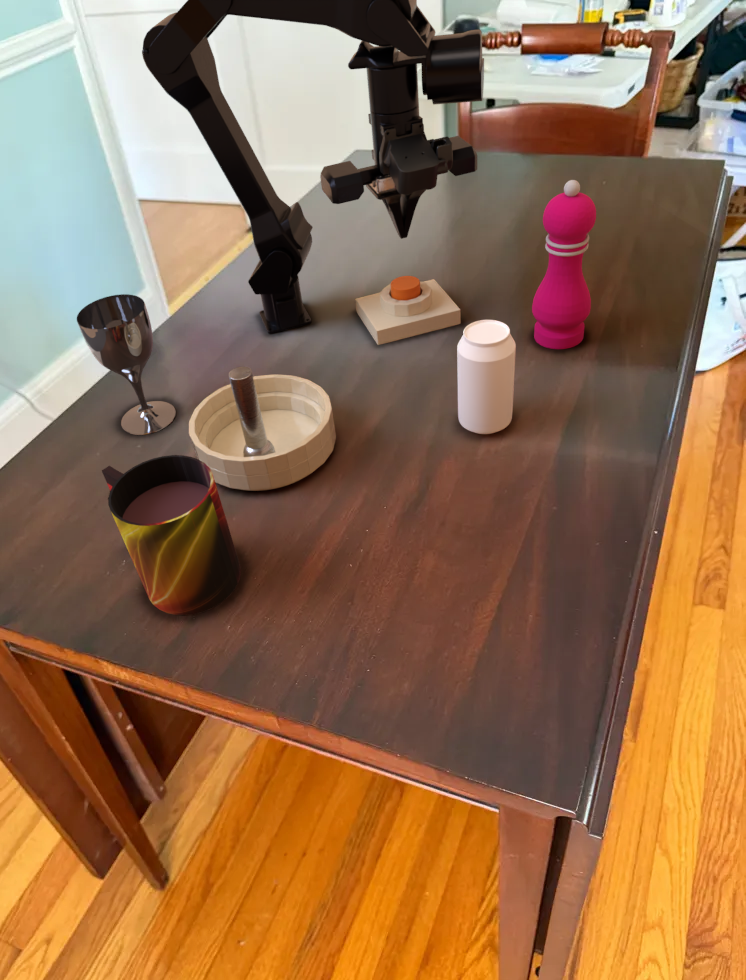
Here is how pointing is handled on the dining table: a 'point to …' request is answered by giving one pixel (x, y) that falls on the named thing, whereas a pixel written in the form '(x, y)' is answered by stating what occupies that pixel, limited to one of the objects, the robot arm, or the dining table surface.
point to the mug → (175, 532)
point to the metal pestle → (249, 413)
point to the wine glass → (125, 353)
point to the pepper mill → (564, 270)
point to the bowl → (288, 425)
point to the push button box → (407, 313)
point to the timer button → (405, 288)
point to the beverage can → (485, 376)
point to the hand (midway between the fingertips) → (402, 237)
